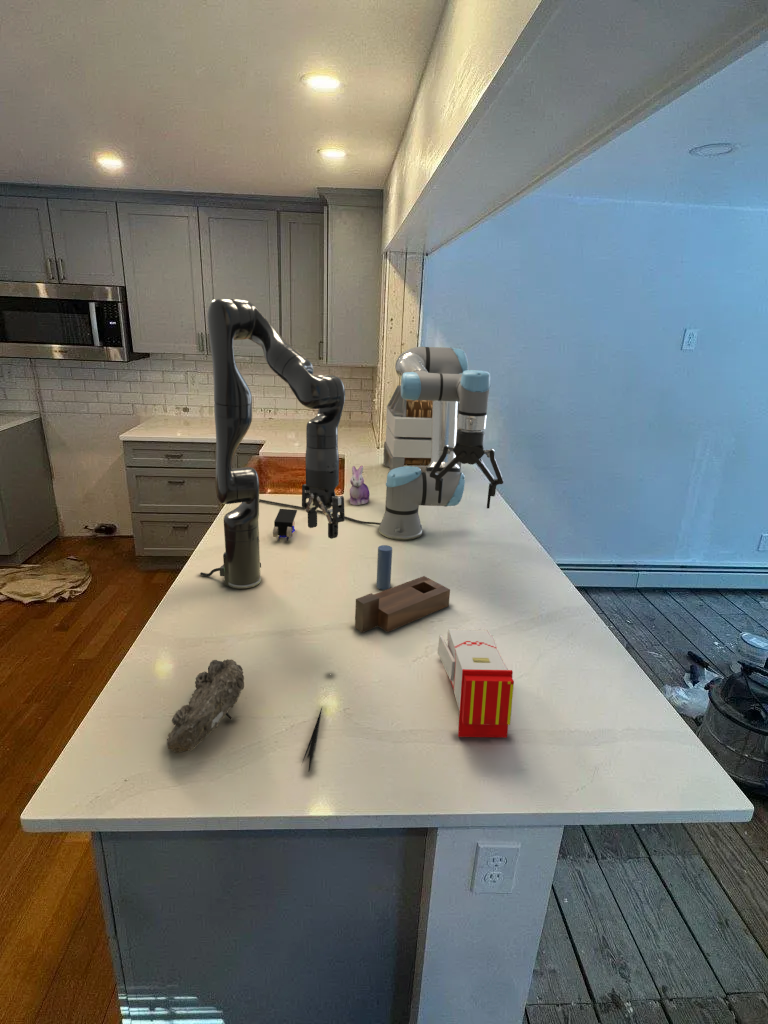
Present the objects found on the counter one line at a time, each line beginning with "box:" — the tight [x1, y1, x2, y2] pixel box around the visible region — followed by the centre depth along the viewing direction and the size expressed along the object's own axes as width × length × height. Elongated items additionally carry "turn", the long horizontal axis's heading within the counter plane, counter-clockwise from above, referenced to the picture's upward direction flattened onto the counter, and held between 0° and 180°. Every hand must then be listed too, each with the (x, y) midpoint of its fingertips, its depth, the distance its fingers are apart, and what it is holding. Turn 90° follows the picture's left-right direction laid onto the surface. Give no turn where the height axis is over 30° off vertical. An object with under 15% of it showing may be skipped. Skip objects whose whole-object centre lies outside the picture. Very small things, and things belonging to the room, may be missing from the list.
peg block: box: [354, 575, 451, 633], centre depth 146 cm, size 10×27×8 cm, turn 131°
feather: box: [301, 673, 332, 771], centre depth 108 cm, size 2×28×2 cm
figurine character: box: [272, 508, 298, 542], centre depth 192 cm, size 7×8×15 cm
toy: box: [437, 628, 515, 738], centre depth 117 cm, size 12×13×30 cm
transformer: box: [383, 384, 462, 473], centre depth 268 cm, size 34×33×41 cm
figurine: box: [348, 465, 370, 506], centre depth 228 cm, size 9×10×15 cm
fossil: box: [166, 658, 245, 754], centre depth 106 cm, size 22×10×15 cm
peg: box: [375, 544, 393, 591], centre depth 160 cm, size 4×4×12 cm
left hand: (322, 532), depth 134 cm, fingers open, 8 cm apart
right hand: (463, 504), depth 160 cm, fingers open, 13 cm apart
